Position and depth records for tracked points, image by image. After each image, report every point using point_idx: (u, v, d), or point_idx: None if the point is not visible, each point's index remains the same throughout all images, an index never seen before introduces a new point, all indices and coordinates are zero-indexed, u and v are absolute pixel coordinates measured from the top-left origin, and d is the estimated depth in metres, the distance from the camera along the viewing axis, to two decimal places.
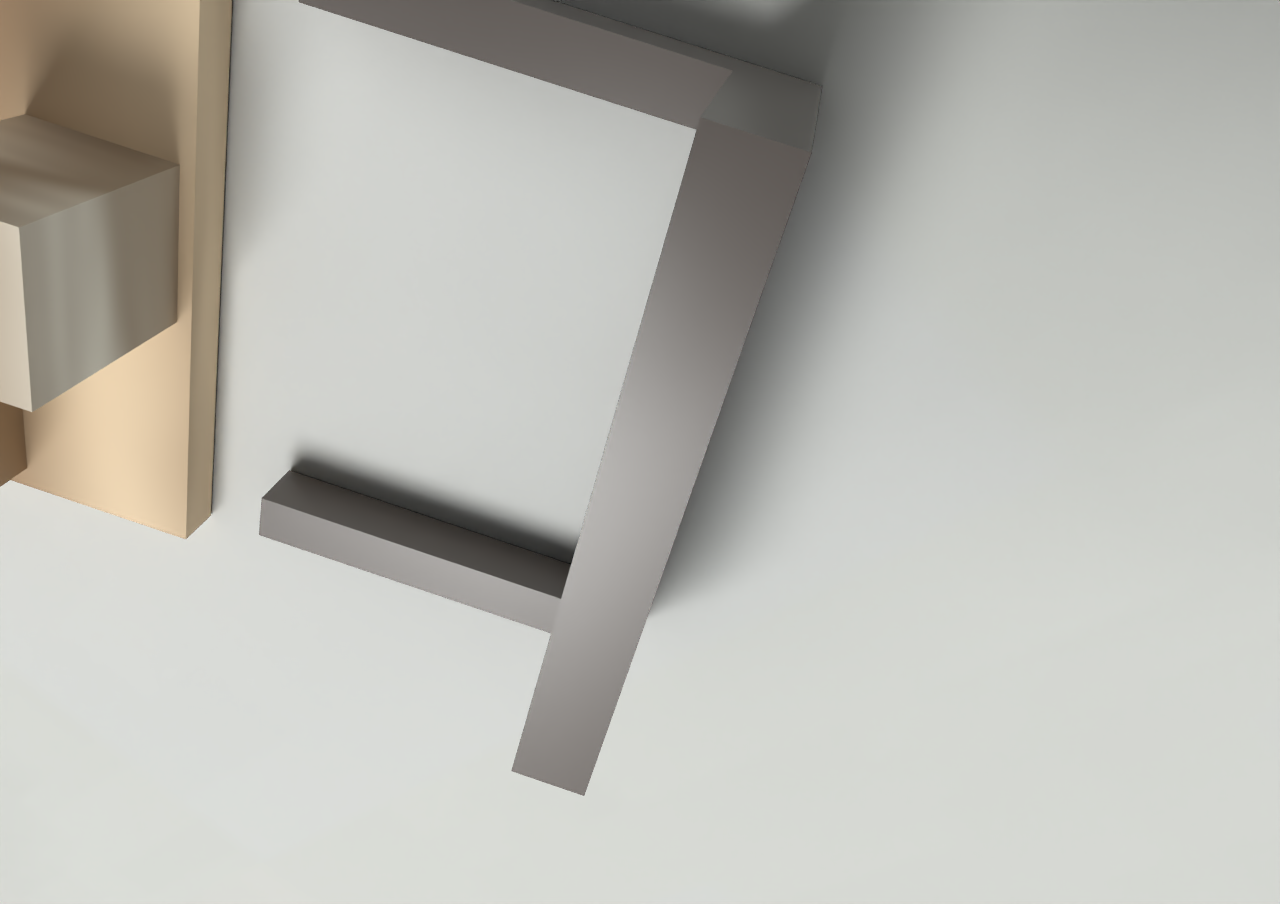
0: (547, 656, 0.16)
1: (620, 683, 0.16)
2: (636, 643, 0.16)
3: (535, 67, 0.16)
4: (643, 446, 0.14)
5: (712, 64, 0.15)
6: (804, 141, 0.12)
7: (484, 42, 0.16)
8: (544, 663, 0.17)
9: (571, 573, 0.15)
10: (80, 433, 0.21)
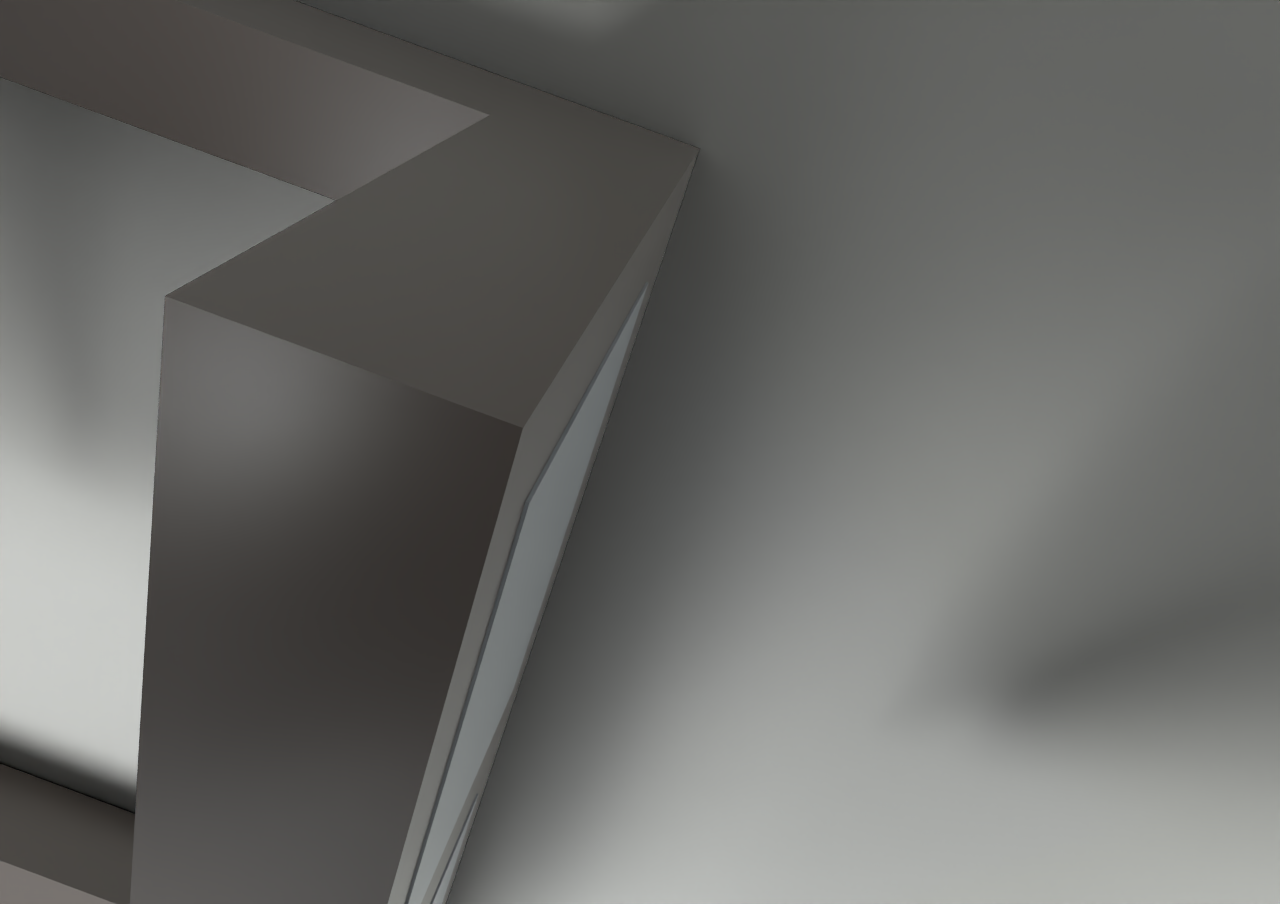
0: None
1: None
2: None
3: (84, 86, 0.07)
4: None
5: (445, 98, 0.07)
6: (530, 365, 0.04)
7: None
8: None
9: None
10: None
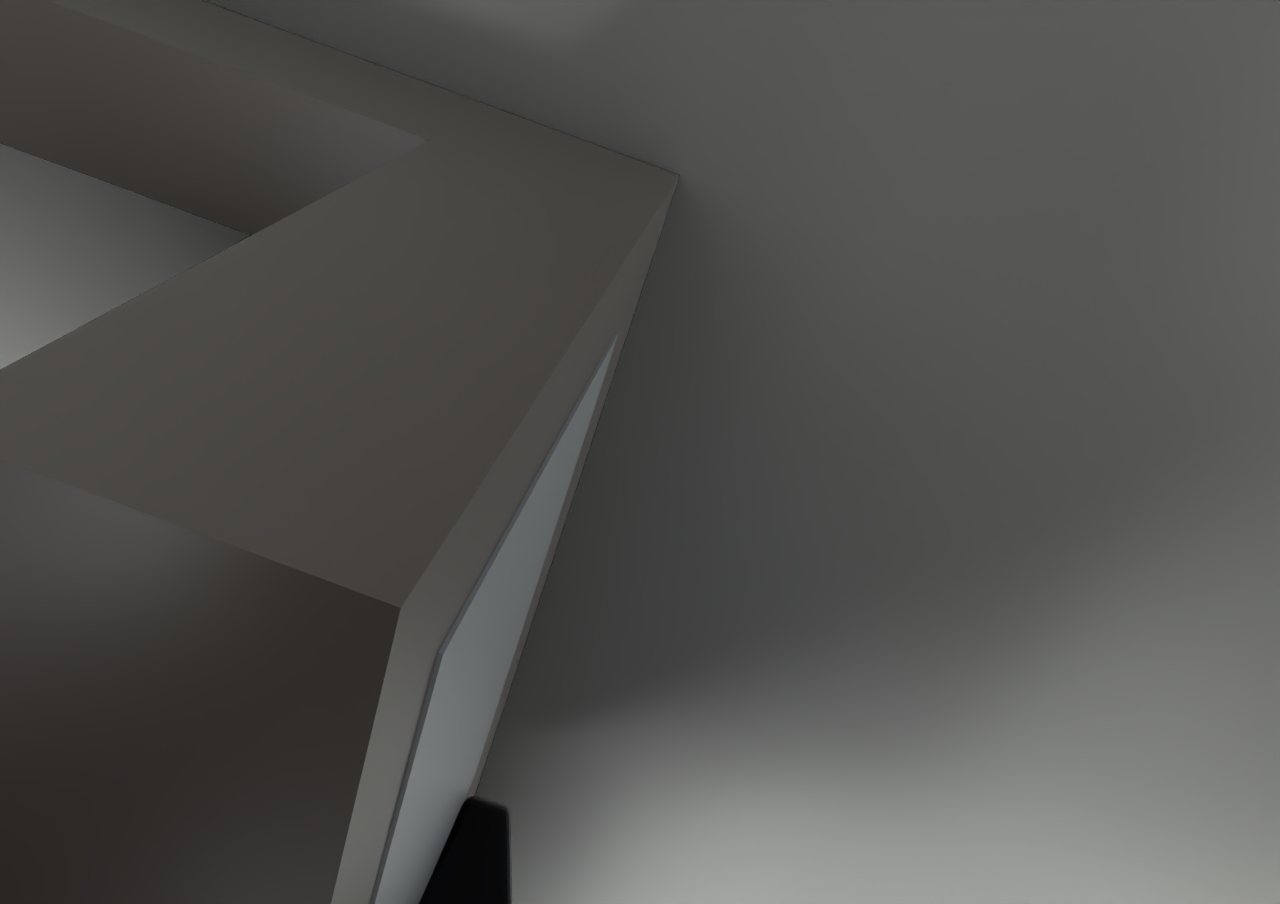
0: None
1: None
2: None
3: None
4: None
5: (379, 121, 0.06)
6: (428, 499, 0.03)
7: None
8: None
9: None
10: None
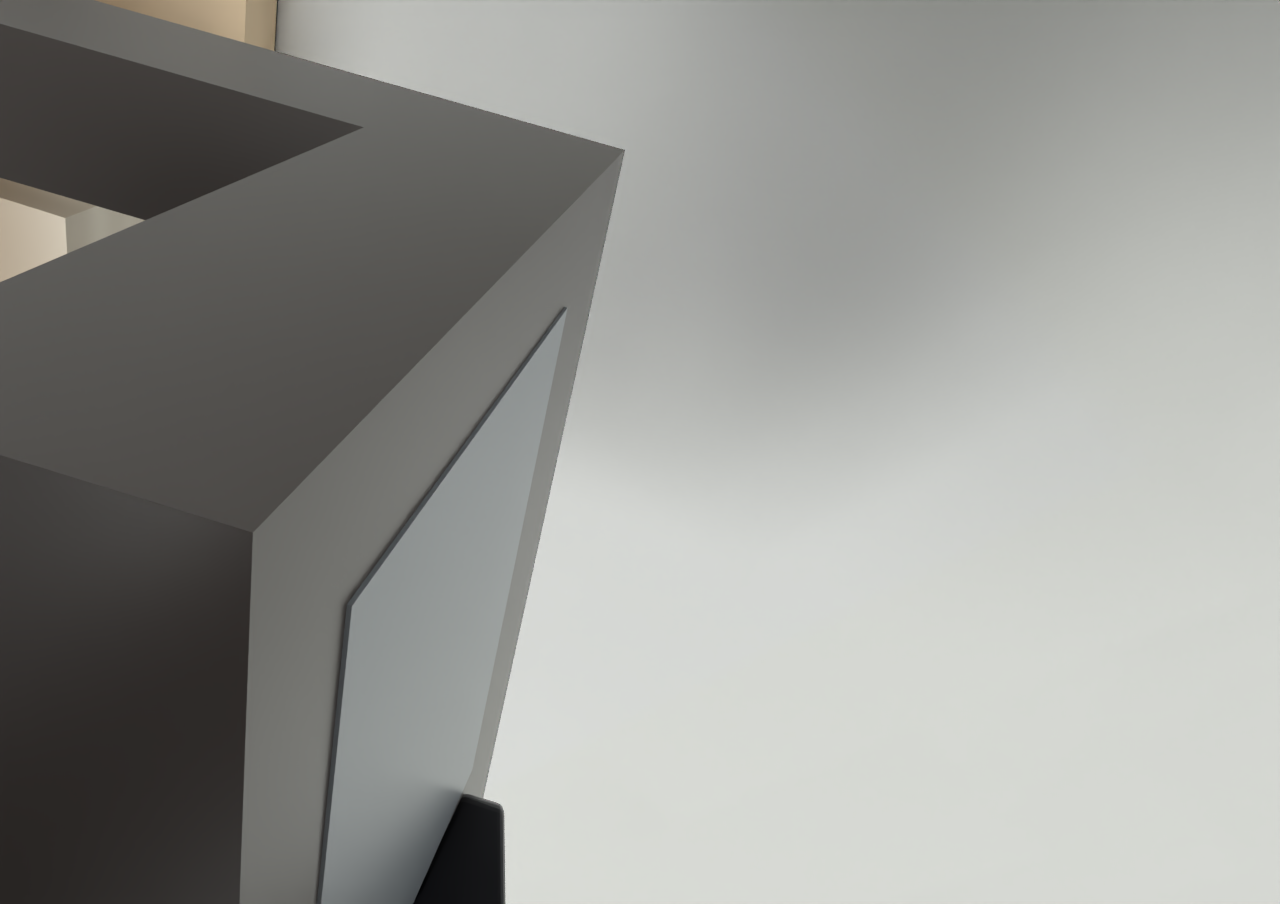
0: None
1: None
2: None
3: None
4: None
5: (313, 112, 0.06)
6: (301, 437, 0.03)
7: None
8: None
9: None
10: None
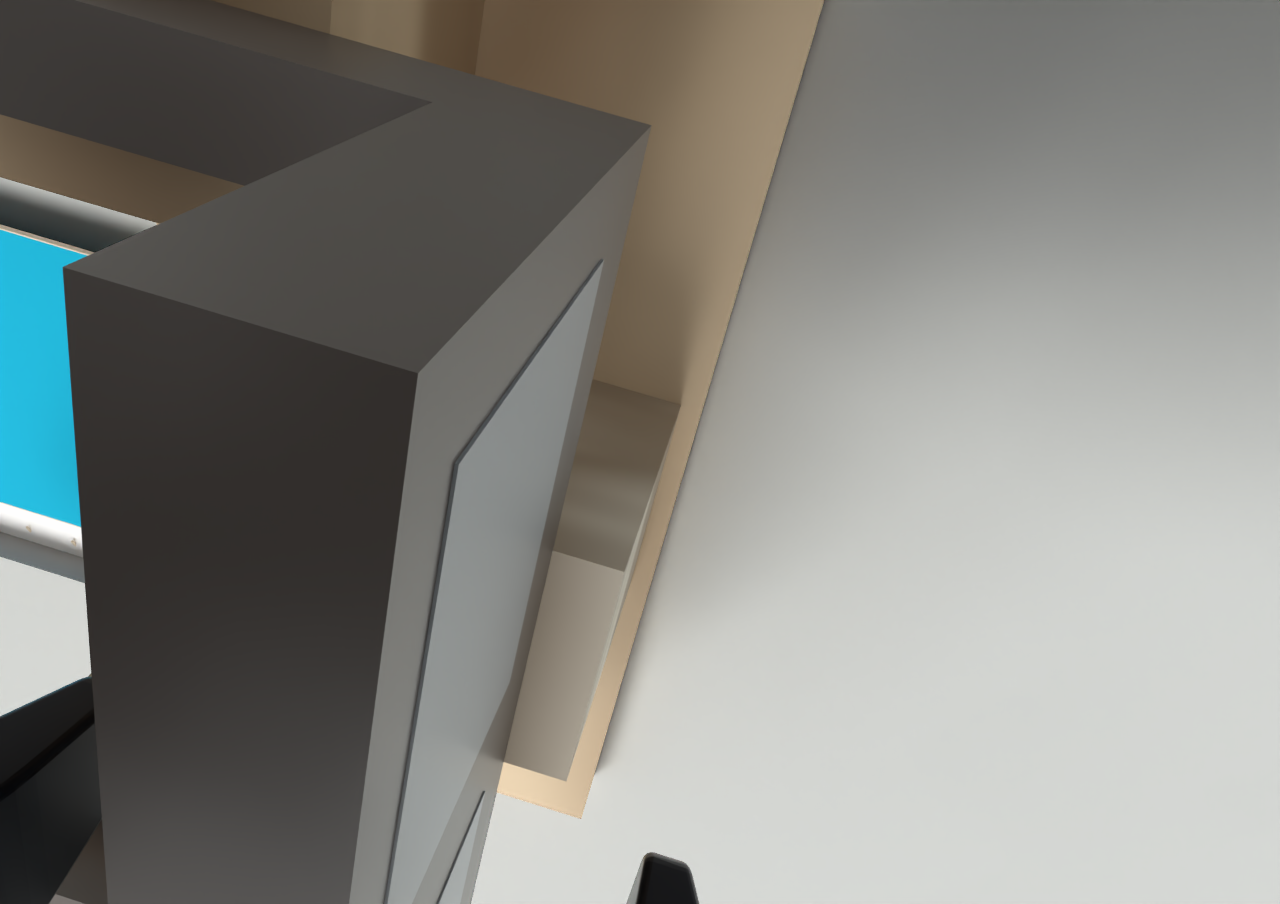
0: None
1: None
2: None
3: (45, 107, 0.08)
4: None
5: (389, 89, 0.07)
6: (436, 318, 0.04)
7: None
8: None
9: None
10: None
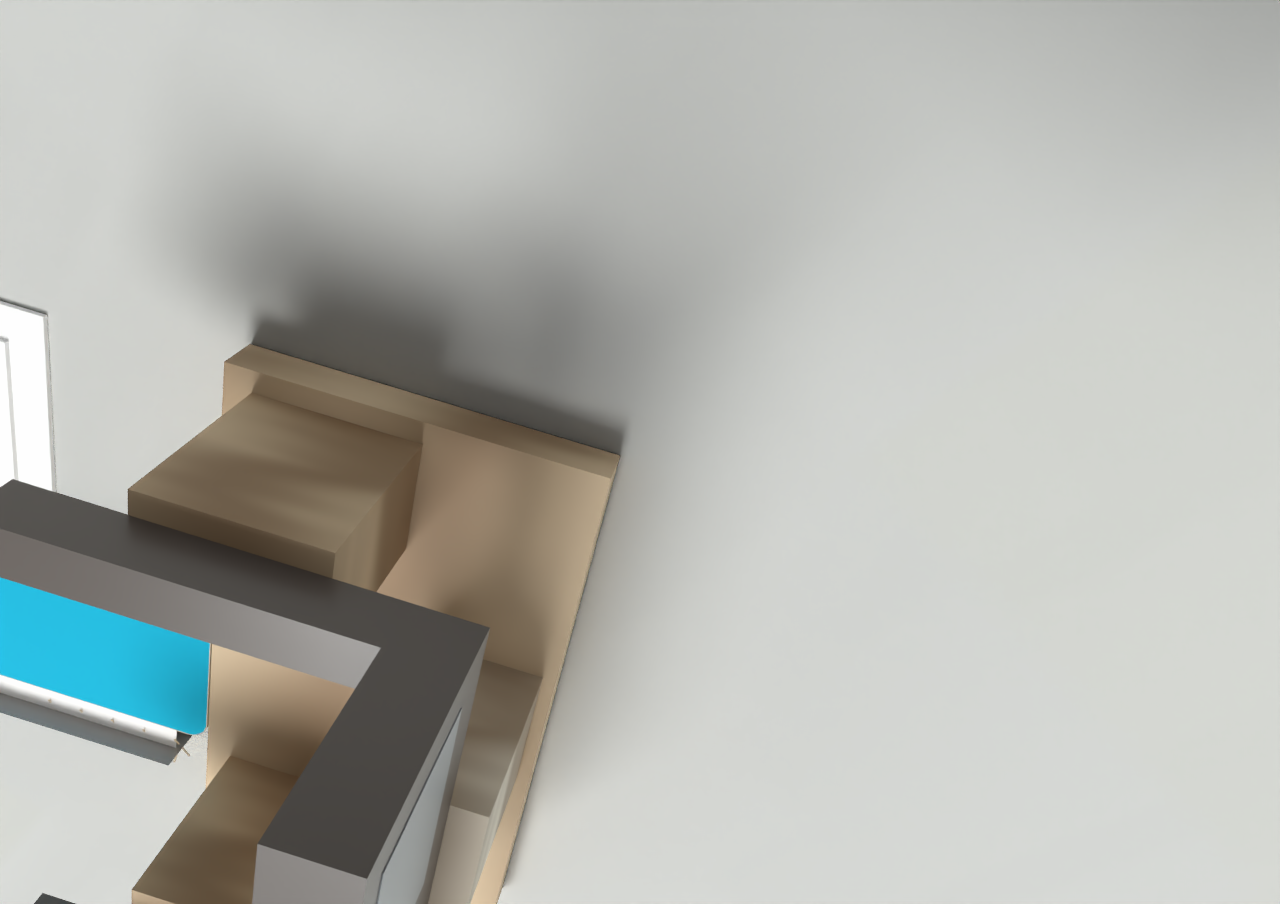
0: None
1: None
2: None
3: (195, 631, 0.16)
4: None
5: (361, 640, 0.15)
6: (374, 844, 0.12)
7: (144, 608, 0.16)
8: None
9: None
10: None
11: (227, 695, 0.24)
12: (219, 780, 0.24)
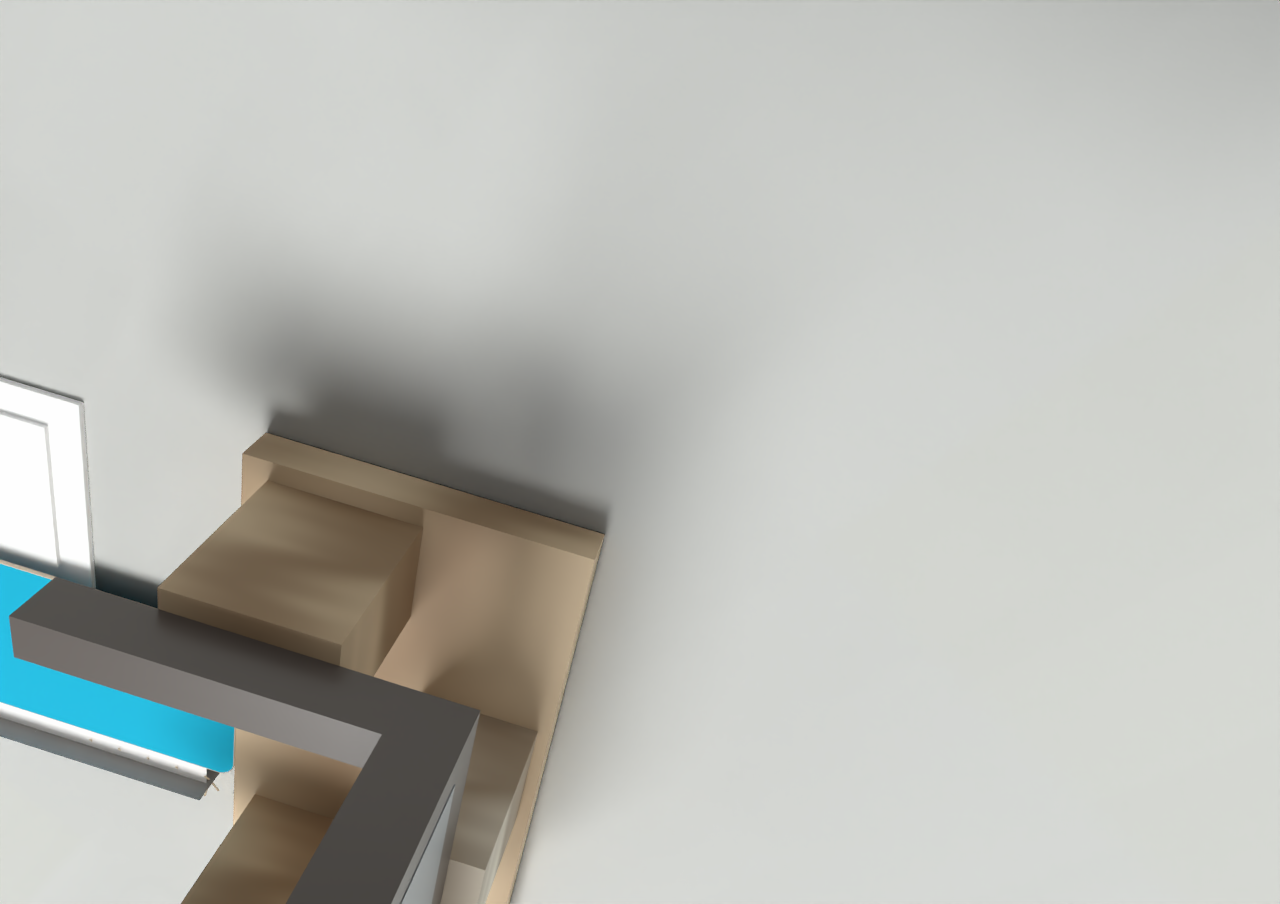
0: None
1: None
2: None
3: (218, 716, 0.18)
4: None
5: (364, 728, 0.17)
6: None
7: (173, 696, 0.18)
8: None
9: None
10: None
11: (251, 741, 0.26)
12: (245, 818, 0.26)
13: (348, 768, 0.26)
